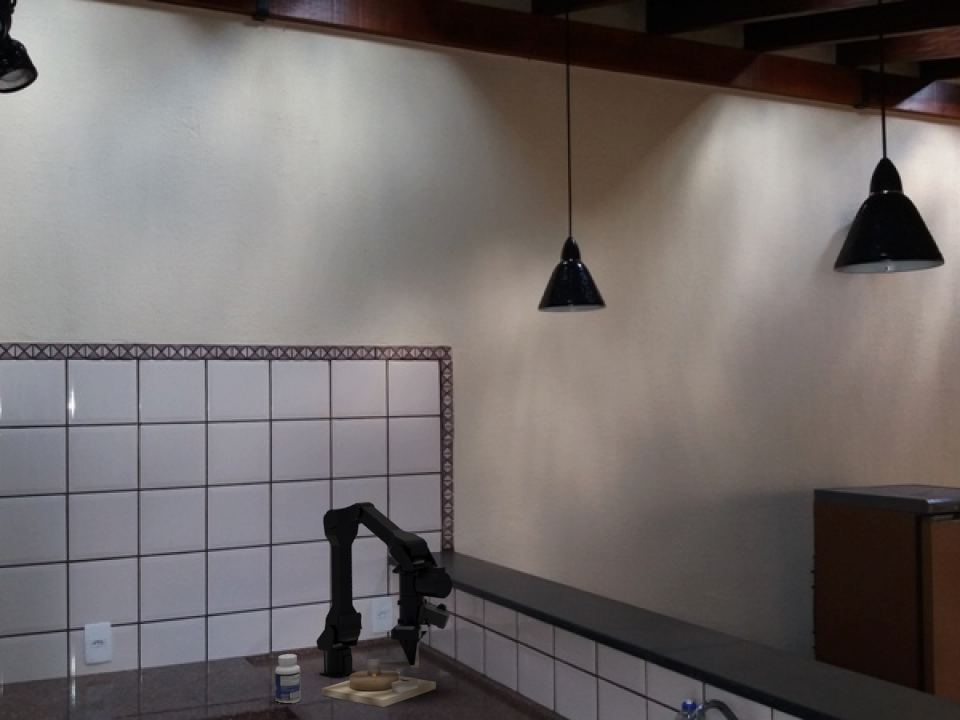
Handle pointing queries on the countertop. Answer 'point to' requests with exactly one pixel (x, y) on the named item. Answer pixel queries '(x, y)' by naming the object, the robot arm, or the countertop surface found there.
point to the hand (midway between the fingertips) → (412, 665)
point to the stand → (381, 691)
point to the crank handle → (379, 674)
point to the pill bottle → (287, 679)
